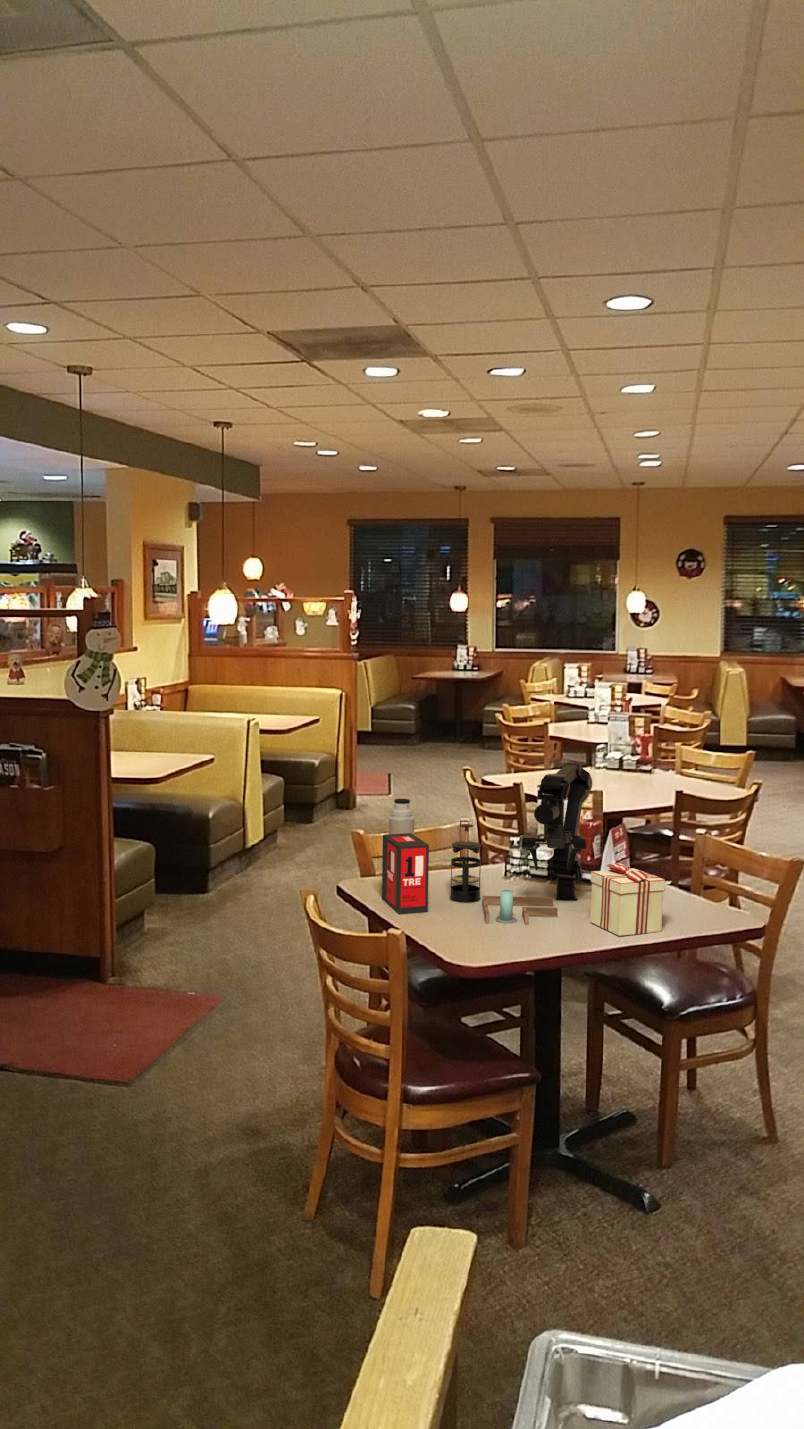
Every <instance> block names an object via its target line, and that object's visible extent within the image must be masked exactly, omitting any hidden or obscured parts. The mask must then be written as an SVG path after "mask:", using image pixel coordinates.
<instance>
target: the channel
mask: <svg viewBox="0 0 804 1429" xmlns="http://www.w3.org/2000/svg"><path fill="white" fill-rule="evenodd" d="M500 897H501V895H482V900H481V901H482V902H481V903H482V910H483V915H484V920H485V924H486V925H489V924H490V915H491V914H490V910H489V906H500ZM513 906H514V907H522V911H521V912H522V914H521V917H522V918H523V919H522V920H523V922H524V925H527V926H528V925H529V918H530V917H532V918H533V917H534V918H535V917H537V918H538V917H540V918H542V917H543V918H558V907H554V897H551V896H549V897H547V896H545V897H543V896H542V897H541V896H513Z"/></svg>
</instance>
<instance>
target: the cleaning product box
mask: <svg viewBox="0 0 804 1429" xmlns="http://www.w3.org/2000/svg"><path fill="white" fill-rule="evenodd" d="M429 852H430V845H429V844H428V843H427V842H425V841H423V840H422V839H421V838H419V837H418V836H416V835H415V834H414V835H413V834H411V833H404V834H389V833H388V834H382V857H381V858H382V864H381V865H382V866H381V867H382V870H381V873H382V874H381V878H382V879H381V900H382V901H383V902H384V904H385V903H386V905H387V906H389V907H390V909H392V910H393V911H394V912H395V913H396V914H397V915H409V914H411V915H412V914H421V913H422V914H424V913H425V914H426V913H428V912H429V909H428V908H429V870H430V869H429V861H430V860H429V859H430V853H429Z"/></svg>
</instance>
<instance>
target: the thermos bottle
mask: <svg viewBox="0 0 804 1429" xmlns="http://www.w3.org/2000/svg"><path fill="white" fill-rule="evenodd" d="M393 801H394V805H393V808H392V809H391V812H390V815H389V817H388V834H404V833H411V834H413V835H414V836H415V816H413V813H414V812H413V810H412V808H410V805H411V804H410V802H411V800H410V799H409V798H395V799H394V800H393Z"/></svg>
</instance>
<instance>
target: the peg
mask: <svg viewBox="0 0 804 1429" xmlns="http://www.w3.org/2000/svg"><path fill="white" fill-rule="evenodd" d="M500 896H501V897H500V905H499V906H500V907H499V916H500V920H503V921H511V920H512V917H513V897H514V891H513V890H510V889H509V890H508V889H502V890H500Z"/></svg>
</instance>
